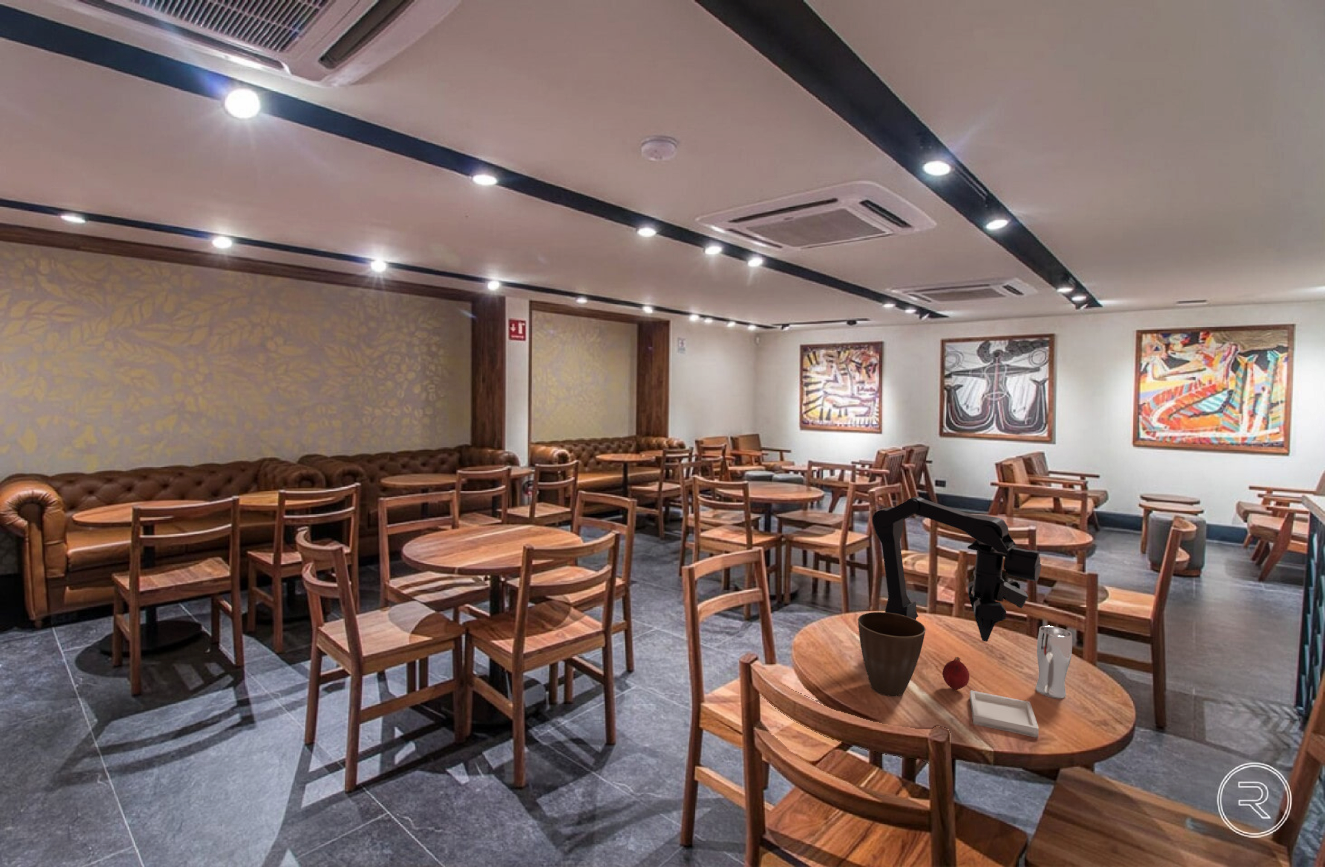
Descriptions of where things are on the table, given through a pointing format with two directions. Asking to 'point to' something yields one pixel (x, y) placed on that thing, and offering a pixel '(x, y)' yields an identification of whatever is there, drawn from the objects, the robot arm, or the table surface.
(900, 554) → the robot arm
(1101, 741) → the table surface
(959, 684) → the onion
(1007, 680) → the table surface
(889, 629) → the plant pot
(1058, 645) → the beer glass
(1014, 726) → the dish
